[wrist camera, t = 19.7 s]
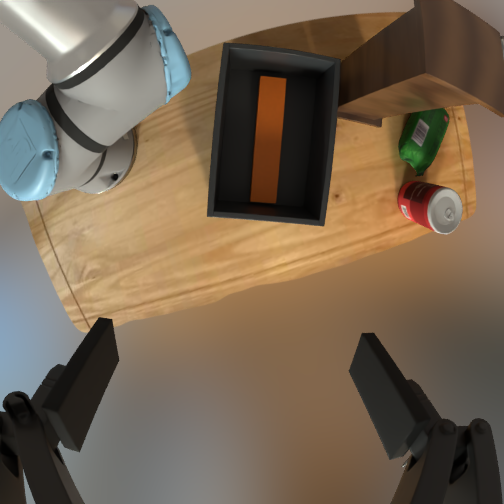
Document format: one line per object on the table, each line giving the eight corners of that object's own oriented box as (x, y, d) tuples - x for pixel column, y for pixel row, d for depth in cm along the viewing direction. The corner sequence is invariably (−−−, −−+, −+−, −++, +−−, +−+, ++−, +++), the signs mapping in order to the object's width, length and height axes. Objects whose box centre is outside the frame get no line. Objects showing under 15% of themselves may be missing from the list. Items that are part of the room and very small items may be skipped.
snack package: (386, 156, 47) (400, 157, 42) (416, 91, 43) (432, 87, 38) (412, 176, 48) (428, 180, 43) (441, 113, 44) (457, 112, 39)
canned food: (421, 224, 51) (455, 239, 41) (391, 213, 50) (423, 227, 40) (432, 188, 49) (467, 197, 38) (402, 174, 48) (437, 180, 37)
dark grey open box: (213, 203, 48) (206, 216, 38) (226, 66, 41) (223, 42, 30) (305, 211, 49) (324, 226, 39) (319, 77, 42) (340, 59, 32)
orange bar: (249, 199, 47) (250, 201, 45) (259, 79, 41) (260, 75, 39) (274, 201, 48) (275, 203, 45) (283, 82, 41) (286, 78, 39)
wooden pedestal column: (320, 115, 44) (425, 73, 16) (324, 62, 41) (416, -19, 13) (378, 127, 45) (508, 117, 17) (381, 77, 42) (499, 32, 14)
